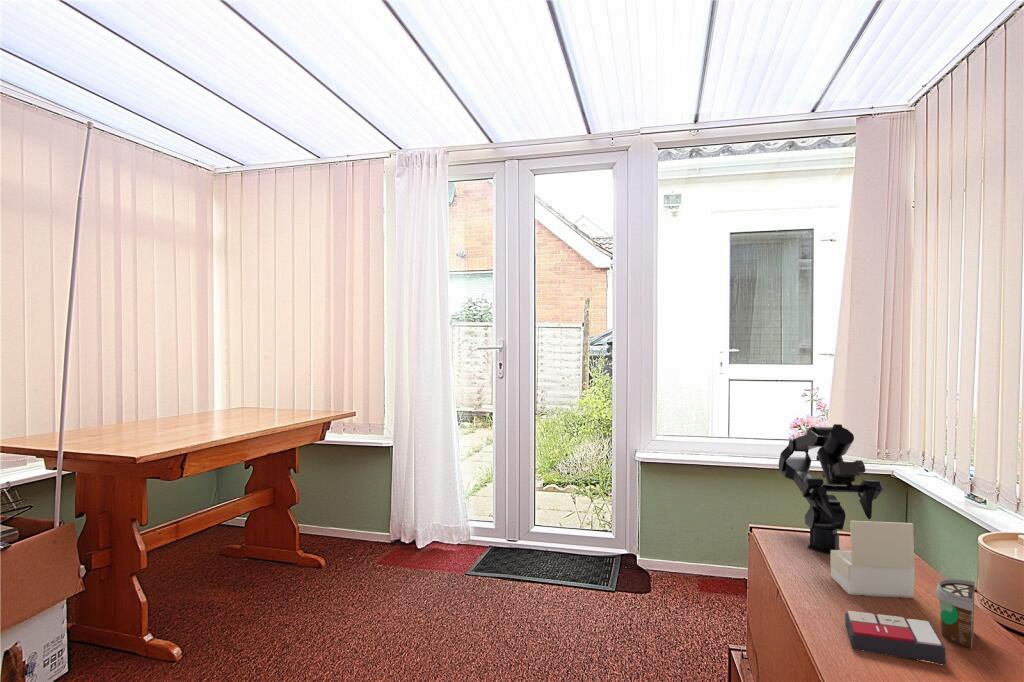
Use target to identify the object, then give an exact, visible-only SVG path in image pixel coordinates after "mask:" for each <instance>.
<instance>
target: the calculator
mask: <svg viewBox="0 0 1024 682" xmlns="http://www.w3.org/2000/svg"><path fill="white" fill-rule="evenodd" d="M844 620H845V621H844V622H845V624H844V625H845V628H847V629H846V631H847V636H848V639H849V643H850V646H852V647H851V649H853V650H856V649H858V650H857V651H861V650H864V651H863V652H867V651H868V653H872V652H873V653H874V654H877V653H879V655H883V654H887V655H886V656H888V655H892V656H891V657H894V656H897V657H896V658H901V657H903V658H902V659H908V658H911V659H910V660H915V659H918V660H925V661H930V662H934V663H938V664H943V665H945V664H946V648H945V645H944V643H943V642H942V640H941V638H940V637H939V635H938V633H937V631H936V630H935V628H934V626H933V624H932V622H930V621H928V620H921V619H915V618H914V619H913V618H907V619H905V617H903V616H897V615H889V614H888V615H887V614H879V613H878V614H876V615H875V614H874V613H870V612H861V611H853V610H848V611H846V612H845V613H844Z"/></svg>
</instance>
